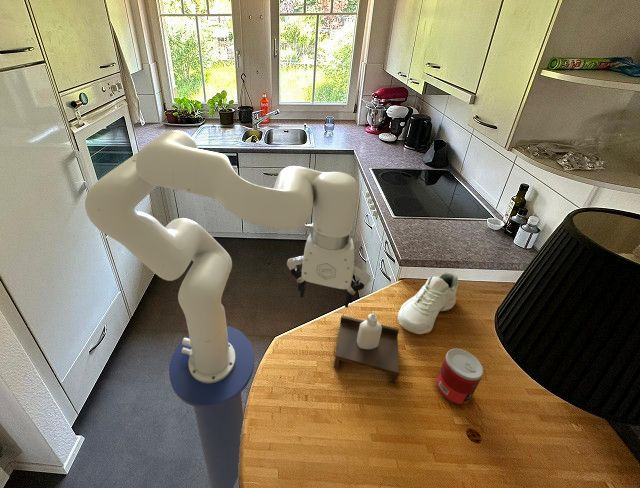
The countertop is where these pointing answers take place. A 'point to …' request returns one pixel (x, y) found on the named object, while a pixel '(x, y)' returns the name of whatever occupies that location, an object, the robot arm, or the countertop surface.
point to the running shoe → (428, 303)
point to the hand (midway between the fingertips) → (324, 297)
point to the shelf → (375, 358)
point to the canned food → (459, 376)
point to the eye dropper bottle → (369, 333)
